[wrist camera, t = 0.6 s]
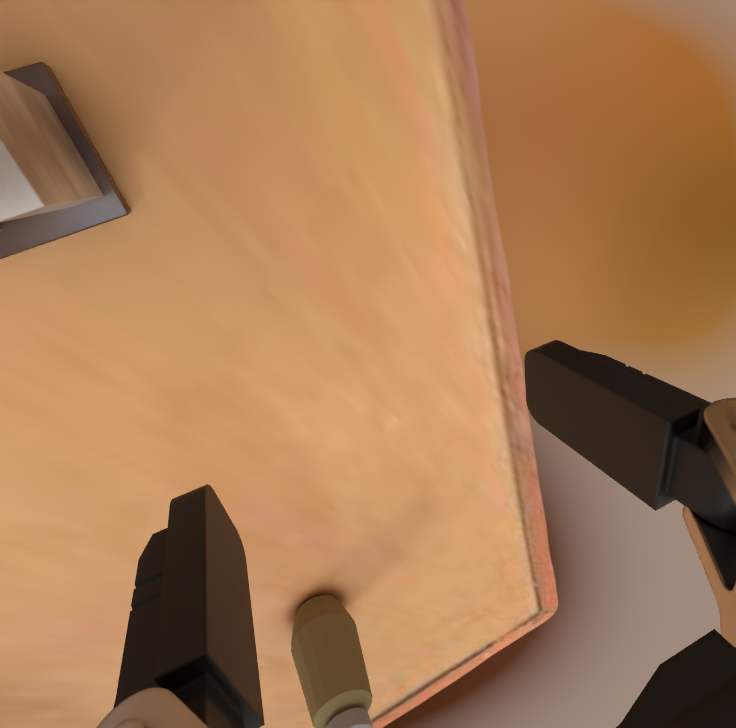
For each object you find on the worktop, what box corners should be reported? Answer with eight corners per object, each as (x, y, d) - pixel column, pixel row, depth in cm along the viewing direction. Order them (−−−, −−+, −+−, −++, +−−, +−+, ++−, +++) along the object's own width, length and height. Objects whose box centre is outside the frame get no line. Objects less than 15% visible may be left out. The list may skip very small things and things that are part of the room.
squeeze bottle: (350, 616, 56) (406, 784, 40) (292, 642, 54) (327, 828, 38) (342, 577, 52) (400, 744, 37) (279, 603, 50) (312, 791, 35)
